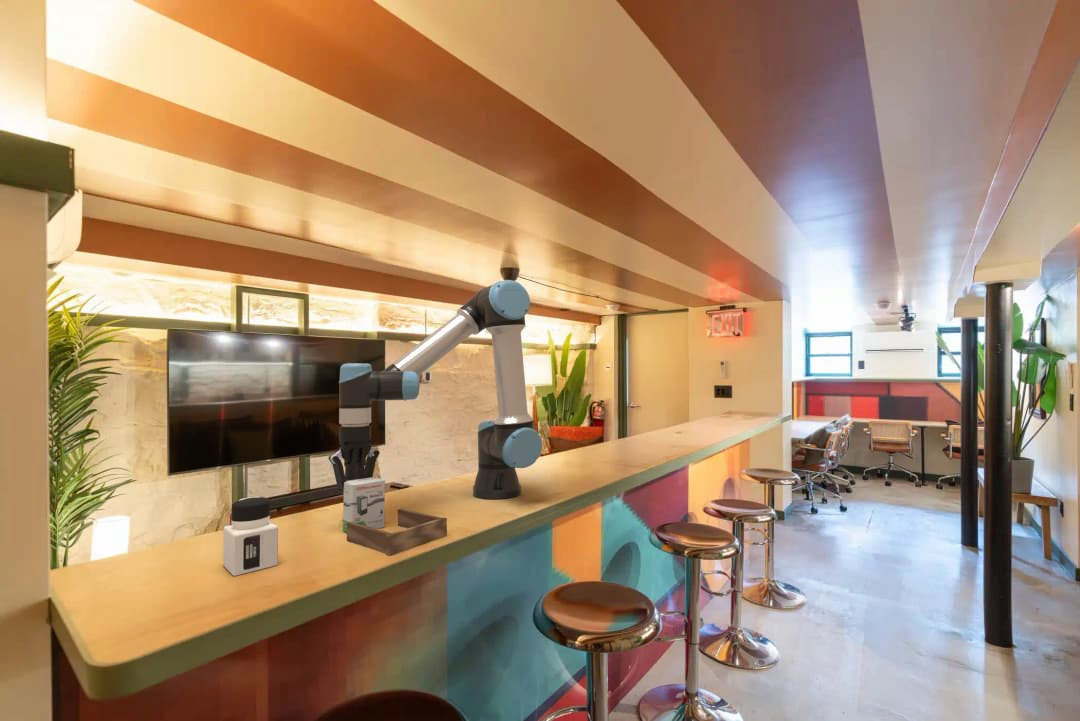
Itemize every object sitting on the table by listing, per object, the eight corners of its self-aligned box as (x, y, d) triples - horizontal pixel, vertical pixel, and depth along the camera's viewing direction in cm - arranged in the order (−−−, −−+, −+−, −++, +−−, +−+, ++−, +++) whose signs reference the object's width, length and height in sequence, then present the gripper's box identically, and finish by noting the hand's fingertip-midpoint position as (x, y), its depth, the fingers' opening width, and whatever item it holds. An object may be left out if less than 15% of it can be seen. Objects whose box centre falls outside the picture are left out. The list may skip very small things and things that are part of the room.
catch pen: (402, 524, 123) (402, 507, 124) (446, 535, 114) (446, 517, 114) (344, 541, 111) (344, 523, 111) (388, 555, 101) (388, 536, 101)
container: (278, 565, 96) (279, 498, 97) (233, 577, 91) (234, 506, 91) (265, 555, 102) (266, 492, 102) (222, 566, 96) (223, 499, 97)
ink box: (351, 535, 115) (352, 484, 115) (342, 531, 118) (342, 481, 118) (385, 527, 121) (385, 478, 121) (375, 523, 124) (375, 476, 125)
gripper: (369, 422, 130) (368, 512, 129) (322, 426, 120) (321, 524, 119) (386, 423, 126) (386, 516, 125) (339, 427, 115) (338, 529, 114)
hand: (354, 520), depth 122 cm, fingers closed
